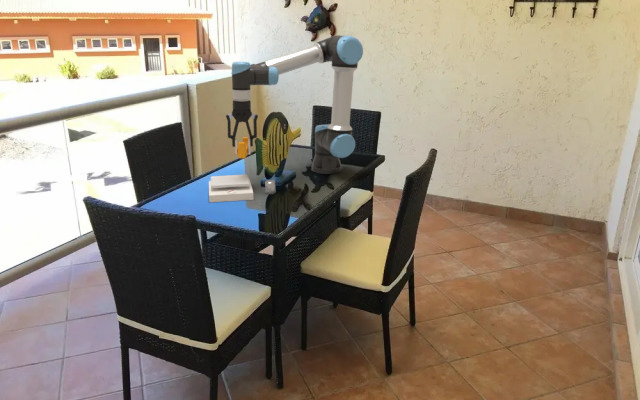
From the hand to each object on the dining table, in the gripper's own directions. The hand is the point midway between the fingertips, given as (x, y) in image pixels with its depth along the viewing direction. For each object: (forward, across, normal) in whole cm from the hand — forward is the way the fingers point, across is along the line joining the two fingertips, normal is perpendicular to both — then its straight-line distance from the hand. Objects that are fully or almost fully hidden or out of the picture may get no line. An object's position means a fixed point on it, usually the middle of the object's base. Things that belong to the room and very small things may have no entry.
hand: (242, 153), depth 215 cm
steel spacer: (+16, -11, +8) cm, 21 cm away
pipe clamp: (0, 0, +1) cm, 1 cm away
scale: (+16, +6, +6) cm, 18 cm away
